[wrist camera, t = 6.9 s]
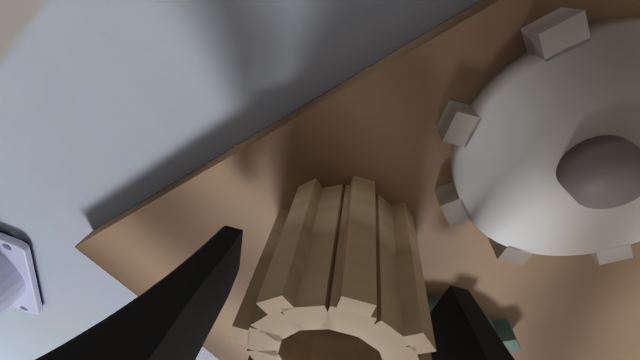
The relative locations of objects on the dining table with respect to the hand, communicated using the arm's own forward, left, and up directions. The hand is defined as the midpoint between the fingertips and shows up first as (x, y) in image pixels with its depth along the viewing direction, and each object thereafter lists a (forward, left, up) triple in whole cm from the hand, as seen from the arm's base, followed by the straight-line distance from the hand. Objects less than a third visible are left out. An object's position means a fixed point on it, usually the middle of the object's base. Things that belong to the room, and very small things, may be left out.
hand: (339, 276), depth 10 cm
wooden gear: (0, 0, -2) cm, 2 cm away
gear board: (+3, -2, -3) cm, 5 cm away
